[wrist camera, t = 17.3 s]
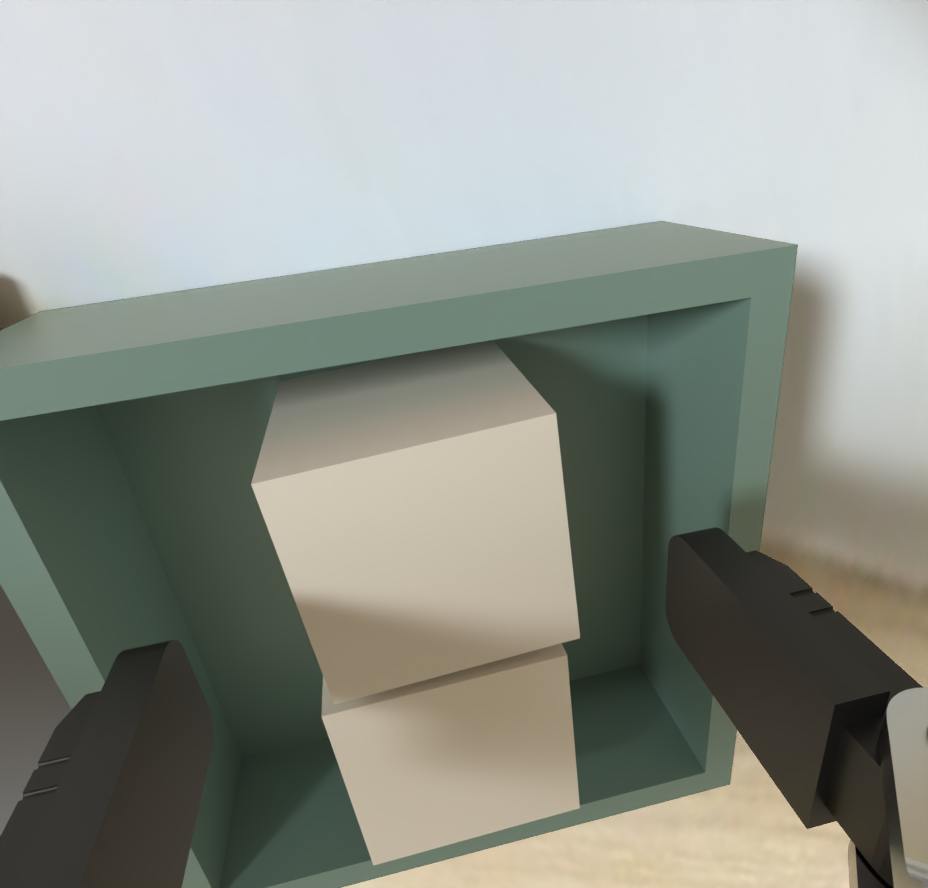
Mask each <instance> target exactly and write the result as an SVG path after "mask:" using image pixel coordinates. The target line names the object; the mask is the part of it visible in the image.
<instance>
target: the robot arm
mask: <svg viewBox="0 0 928 888" xmlns="http://www.w3.org/2000/svg"><path fill="white" fill-rule="evenodd" d="M666 616H667V620H668V624H669V627H670V630H671V633H672V635H673V637H674V639H675V641H676V643H677V644H678V646H679V647H680V649H681V650H682V652H683V653H684V654H685V656H686V657H687V659H688V660H689V662H690V663H691V664H692V666H693V667H694V669H695V670H696V671H697V673H698V674H699V676H700V677H701V679H702V680H703V681H704V683H705V684H706V686H707V687H708V689H709V690H710V691H711V693H712V694H713V696H714V697H715V699H716V700H717V701H718V703H719V704H720V706H721V707H722V709H723V710H724V711H725V713H726V714H727V716H728V717H729V718H730V720H731V721H732V723H733V724H734V726H735V727H736V728H737V730H738V731H739V733H740V734H741V736H742V737H743V738H744V740H745V741H746V743H747V744H748V746H749V747H750V748H751V750H752V751H753V753H754V754H755V756H756V757H757V758H758V760H759V761H760V763H761V764H762V765H763V767H764V768H765V770H766V771H767V773H768V774H769V775H770V777H771V778H772V780H773V781H774V783H775V784H776V785H777V787H778V788H779V790H780V791H781V793H782V794H783V795H784V797H785V798H786V800H787V801H788V803H789V804H790V805H791V807H792V808H793V810H794V811H795V813H796V814H797V815H798V817H799V818H800V820H801V821H802V822H803V824H804V825H805V827H806V828H807V829H809V828H812V827H816V826H820V825H823V824H827V823H830V822H834V821H837V822H838V823H839V824H840V826H841V827H842V828H843V830H844V831H845V832H846V834H847V835H848V836H849V838H850V839H851V840H850V843H849V847H848V865H849V884H850V888H928V688H926V687H924V688H923V687H922V686H921V685H920V684H918V683H917V682H916V681H915V680H914V679H913V678H912V677H911V676H909V675H908V674H907V673H906V672H905V671H904V670H903V669H902V668H901V667H899V666H898V665H897V664H896V663H895V662H894V661H893V660H892V659H890V658H889V657H888V656H887V655H886V654H885V653H884V652H883V651H882V650H880V649H879V648H878V647H877V646H876V645H875V644H874V643H873V642H872V641H870V640H869V639H868V638H867V637H866V636H865V635H864V634H863V633H862V632H860V631H859V630H858V629H857V628H856V627H855V626H854V625H853V624H852V623H850V622H849V621H848V620H847V619H846V618H845V617H844V616H843V615H841V614H840V613H839V612H838V611H837V612H835V611H834V610H833V606H831V605H830V604H829V603H828V602H827V601H826V600H825V599H824V598H823V597H821V596H820V595H819V594H818V593H814V592H813V591H812V588H811V587H810V586H809V585H808V584H807V583H806V582H805V581H804V580H803V579H801V578H800V577H799V576H798V575H797V574H796V573H795V572H794V571H793V570H791V569H790V568H789V567H788V566H786V565H784V564H782V563H780V562H778V561H776V560H774V559H772V558H770V557H768V556H766V555H764V554H762V553H760V552H758V551H756V550H754V551H750V552H745V551H744V550H743V549H742V548H741V547H740V546H739V545H738V544H737V543H736V542H735V541H734V540H733V539H732V538H731V537H730V536H728V535H727V534H726V533H725V532H724V531H723V530H722V529H720V528H717V527H713V528H708V529H704V530H699V531H694V532H689V533H685V534H680V535H675V536H673V537H672V538H671V539H670V541H669V544H668V561H667V583H666ZM212 744H213V726H212V719H211V714H210V710H209V707H208V705H207V702H206V700H205V698H204V695H203V693H202V690H201V688H200V686H199V683H198V681H197V679H196V676H195V674H194V672H193V669H192V667H191V665H190V662H189V660H188V657H187V655H186V653H185V650H184V648H183V646H182V645H181V643H180V642H179V641H177V640H170V641H165V642H160V643H156V644H151V645H146V646H142V647H137V648H132V649H127V650H124V651H122V652H120V653H119V654H118V656H117V657H116V659H115V661H114V663H113V666H112V668H111V670H110V672H109V674H108V677H107V679H106V681H105V683H104V685H103V687H102V690H101V691H98V692H94V693H89V694H86V695H85V696H84V697H83V698H82V699H81V700H80V701H79V702H78V703H77V704H76V706H75V707H74V708H73V709H72V710H71V711H70V712H69V713H68V714H67V715H66V717H65V718H64V719H63V720H62V721H61V722H60V723H59V724H58V725H57V726H56V728H55V730H54V732H53V734H52V736H51V738H50V740H49V742H48V744H47V746H46V747H45V749H44V751H43V753H42V755H41V757H40V759H39V761H38V769H36V770H34V771H33V773H32V775H31V777H30V779H29V781H28V783H27V785H26V787H25V789H24V791H23V799H22V800H21V801H18V803H17V805H16V807H15V809H14V811H13V813H12V815H11V817H10V818H9V820H8V822H7V824H6V826H5V828H4V830H3V832H2V834H1V836H0V888H182V883H183V879H184V874H185V870H186V865H187V861H188V856H189V852H190V847H191V843H192V838H193V834H194V829H195V824H196V820H197V815H198V811H199V806H200V802H201V797H202V793H203V788H204V784H205V779H206V775H207V770H208V765H209V761H210V756H211V751H212Z"/></svg>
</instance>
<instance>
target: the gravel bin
mask: <svg viewBox="0 0 928 888" xmlns="http://www.w3.org/2000/svg"><path fill="white" fill-rule="evenodd" d="M797 247H798V245H796V244H791V243H785V242H779V241H773V240H768V239H762V238H756V237H751V236H745V235H739V234H733V233H728V232H722V231H716V230H711V229H705V228H699V227H693V226H688V225H682V224H676V223H671V222H665V221H658V222H651V223H644V224H637V225H630V226H623V227H616V228H610V229H603V230H596V231H589V232H582V233H575V234H568V235H562V236H555V237H548V238H541V239H534V240H527V241H520V242H513V243H507V244H500V245H493V246H486V247H479V248H472V249H465V250H458V251H452V252H445V253H438V254H431V255H424V256H417V257H410V258H403V259H397V260H390V261H383V262H376V263H369V264H362V265H355V266H349V267H342V268H335V269H328V270H321V271H314V272H307V273H300V274H294V275H287V276H280V277H273V278H266V279H259V280H252V281H245V282H239V283H232V284H225V285H218V286H211V287H204V288H197V289H190V290H184V291H177V292H170V293H163V294H156V295H149V296H142V297H135V298H129V299H122V300H115V301H108V302H101V303H94V304H87V305H81V306H74V307H67V308H60V309H53V310H46V311H40V312H38V313H36V314H34V315H32V316H30V317H27V318H25V319H23V320H21V321H19V322H17V323H15V324H13V325H11V326H9V327H7V328H5V329H3V330H1V331H0V584H1V586H2V588H3V590H4V591H5V593H6V595H7V597H8V599H9V600H10V602H11V604H12V606H13V607H14V609H15V611H16V613H17V614H18V616H19V618H20V620H21V621H22V623H23V625H24V627H25V628H26V630H27V632H28V634H29V635H30V637H31V639H32V641H33V643H34V644H35V646H36V648H37V650H38V651H39V653H40V655H41V657H42V658H43V660H44V662H45V664H46V665H47V667H48V669H49V671H50V672H51V674H52V676H53V678H54V680H55V681H56V683H57V685H58V687H59V688H60V690H61V692H62V694H63V695H64V697H65V699H66V701H67V702H68V704H69V706H70V708H71V709H73V708H74V707H75V706H76V704H77V703H78V702H79V701H80V700H81V699H82V698H83V697H84V696H85V695H86V694H89V693H94V692H98V691H101V690H102V687H103V685H104V683H105V681H106V679H107V677H108V674H109V672H110V670H111V668H112V666H113V663H114V661H115V659H116V657H117V656H118V654H119V653H120V652H122V651H124V650H127V649H132V648H137V647H142V646H146V645H151V644H156V643H160V642H165V641H170V640H177V641H179V642H180V643H181V645H182V646H183V648H184V650H185V653H186V655H187V657H188V660H189V662H190V665H191V667H192V669H193V672H194V674H195V676H196V679H197V681H198V683H199V686H200V688H201V690H202V693H203V695H204V698H205V700H206V702H207V705H208V707H209V710H210V714H211V719H212V726H213V744H212V751H211V756H210V761H209V765H208V770H207V775H206V779H205V784H204V788H203V793H202V797H201V802H200V806H199V811H198V815H197V820H196V824H195V829H194V834H193V838H192V843H191V847H190V852H189V856H188V861H187V865H186V870H185V874H184V879H183V883H182V888H341V887H345V886H349V885H352V884H356V883H360V882H364V881H368V880H371V879H375V878H379V877H383V876H386V875H390V874H394V873H398V872H401V871H405V870H409V869H413V868H416V867H420V866H424V865H428V864H432V863H435V862H439V861H443V860H447V859H450V858H454V857H458V856H462V855H465V854H469V853H473V852H477V851H481V850H484V849H488V848H492V847H496V846H499V845H503V844H507V843H511V842H514V841H518V840H522V839H526V838H529V837H533V836H537V835H541V834H545V833H548V832H552V831H556V830H560V829H563V828H567V827H571V826H575V825H578V824H582V823H586V822H590V821H594V820H597V819H601V818H605V817H609V816H612V815H616V814H620V813H624V812H627V811H631V810H635V809H639V808H642V807H646V806H650V805H654V804H658V803H661V802H665V801H669V800H673V799H676V798H680V797H684V796H688V795H691V794H695V793H699V792H703V791H707V790H710V789H714V788H718V787H722V786H725V785H729V784H730V780H731V772H732V764H733V756H734V748H735V740H736V732H737V728H736V727H735V726H734V724H733V723H732V721H731V720H730V718H729V717H728V716H727V714H726V713H725V711H724V710H723V709H722V707H721V706H720V704H719V703H718V701H717V700H716V699H715V697H714V696H713V694H712V693H711V691H710V690H709V689H708V687H707V686H706V684H705V683H704V681H703V680H702V679H701V677H700V676H699V674H698V673H697V671H696V670H695V669H694V667H693V666H692V664H691V663H690V662H689V660H688V659H687V657H686V656H685V654H684V653H683V652H682V650H681V649H680V647H679V646H678V644H677V643H676V641H675V639H674V637H673V635H672V633H671V630H670V627H669V624H668V620H667V616H666V583H667V561H668V544H669V541H670V539H671V538H672V537H673V536H675V535H680V534H685V533H689V532H694V531H699V530H704V529H708V528H713V527H717V528H720V529H722V530H723V531H724V532H725V533H726V534H727V535H728V536H730V537H731V538H732V539H733V540H734V541H735V542H736V543H737V544H738V545H739V546H740V547H741V548H742V549H743V550H744V551H745V552H750V551H754V550H756V551H758V552H759V549H760V541H761V533H762V526H763V518H764V510H765V502H766V494H767V486H768V478H769V470H770V462H771V454H772V446H773V438H774V430H775V422H776V414H777V406H778V398H779V390H780V382H781V374H782V367H783V359H784V351H785V343H786V335H787V327H788V319H789V311H790V303H791V295H792V287H793V279H794V271H795V263H796V255H797ZM489 340H493V341H494V342H495V343H496V344H497V345H498V347H499V348H500V349H501V350H502V351H503V352H504V354H505V355H506V356H507V357H508V358H509V359H510V360H511V362H512V363H513V364H514V365H515V366H516V367H517V369H518V370H519V371H520V372H521V373H522V374H523V375H524V377H525V378H526V379H527V380H528V381H529V382H530V384H531V385H532V386H533V387H534V388H535V389H536V390H537V392H538V393H539V394H540V395H541V396H542V397H543V399H544V400H545V401H546V402H547V403H548V404H549V405H550V407H551V408H552V409H553V410H554V411H555V412H556V416H557V426H558V435H559V444H560V454H561V463H562V472H563V482H564V491H565V500H566V510H567V519H568V528H569V538H570V547H571V556H572V566H573V575H574V584H575V593H576V603H577V612H578V621H579V631H580V638H579V639H575V640H571V641H568V642H564V643H562V645H563V647H564V649H565V651H566V654H567V658H568V670H569V683H570V695H571V707H572V719H573V731H574V743H575V755H576V767H577V779H578V791H579V804H580V808H579V809H575V810H572V811H568V812H564V813H561V814H557V815H554V816H550V817H546V818H543V819H539V820H536V821H532V822H528V823H525V824H521V825H518V826H514V827H510V828H507V829H503V830H500V831H496V832H493V833H489V834H485V835H482V836H478V837H475V838H471V839H467V840H464V841H460V842H457V843H453V844H449V845H446V846H442V847H439V848H435V849H432V850H428V851H424V852H421V853H417V854H414V855H410V856H406V857H403V858H399V859H396V860H392V861H388V862H385V863H381V864H378V865H374V866H373V863H372V860H371V857H370V854H369V851H368V848H367V846H366V843H365V840H364V837H363V834H362V831H361V828H360V826H359V823H358V820H357V817H356V814H355V811H354V808H353V805H352V803H351V800H350V797H349V794H348V791H347V788H346V785H345V783H344V780H343V777H342V774H341V771H340V768H339V765H338V762H337V760H336V757H335V754H334V751H333V748H332V745H331V742H330V740H329V737H328V734H327V731H326V728H325V725H324V722H323V720H322V688H323V674H322V671H321V668H320V666H319V663H318V661H317V658H316V655H315V653H314V650H313V647H312V645H311V642H310V639H309V637H308V634H307V631H306V629H305V626H304V623H303V621H302V618H301V615H300V613H299V610H298V608H297V605H296V602H295V600H294V597H293V594H292V592H291V589H290V586H289V584H288V581H287V578H286V576H285V573H284V570H283V568H282V565H281V563H280V560H279V557H278V555H277V552H276V549H275V547H274V544H273V541H272V539H271V536H270V533H269V531H268V528H267V525H266V523H265V520H264V518H263V515H262V512H261V510H260V507H259V504H258V502H257V499H256V496H255V494H254V491H253V488H252V486H251V483H252V479H253V476H254V472H255V468H256V465H257V461H258V458H259V454H260V451H261V447H262V444H263V440H264V436H265V433H266V429H267V426H268V422H269V419H270V415H271V412H272V408H273V404H274V401H275V397H276V394H277V390H278V387H279V383H280V382H281V381H285V380H290V379H294V378H299V377H304V376H308V375H313V374H317V373H322V372H326V371H331V370H336V369H340V368H345V367H349V366H354V365H358V364H363V363H368V362H372V361H377V360H381V359H386V358H390V357H395V356H400V355H404V354H410V353H416V352H422V351H429V350H435V349H441V348H447V347H453V346H459V345H465V344H471V343H477V342H483V341H489Z"/></svg>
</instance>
